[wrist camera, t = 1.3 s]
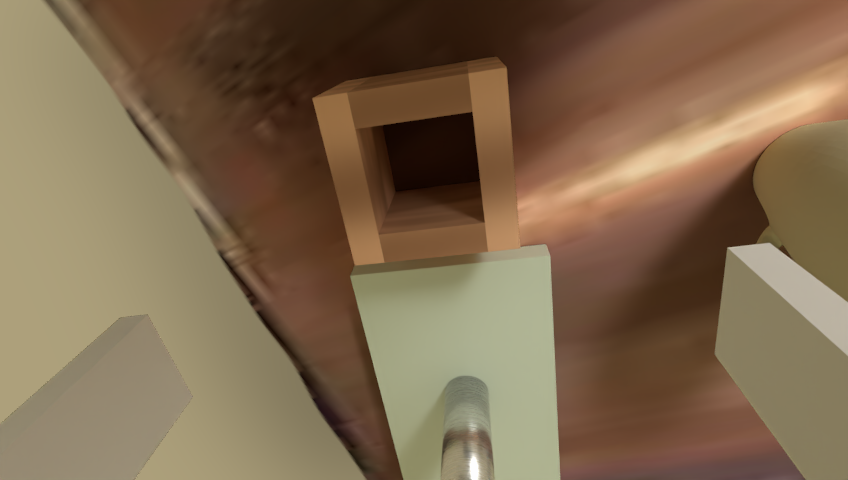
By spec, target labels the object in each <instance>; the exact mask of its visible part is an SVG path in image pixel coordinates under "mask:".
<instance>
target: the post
mask: <svg viewBox="0 0 848 480" xmlns="http://www.w3.org/2000/svg"><path fill="white" fill-rule="evenodd" d="M441 480H495V477H494V462H493V448H492V433H491V419H490V404H489V391H488V387H487V385H486V384H485V383H484V382H483V381H482V380H480V379H479V378H476V377H473V376H459V377H456V378H454V379H452V380H451V381H450V382H449V383H448V384H447V385H446V388H445V400H444V420H443V440H442V461H441Z"/></svg>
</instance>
